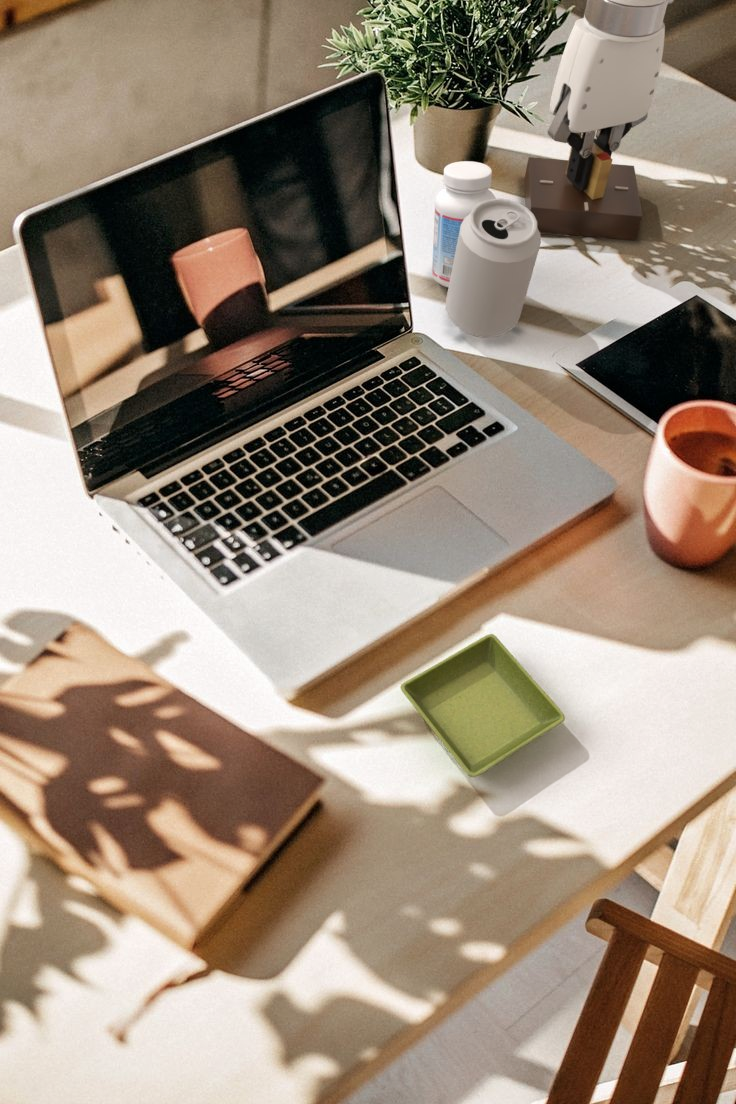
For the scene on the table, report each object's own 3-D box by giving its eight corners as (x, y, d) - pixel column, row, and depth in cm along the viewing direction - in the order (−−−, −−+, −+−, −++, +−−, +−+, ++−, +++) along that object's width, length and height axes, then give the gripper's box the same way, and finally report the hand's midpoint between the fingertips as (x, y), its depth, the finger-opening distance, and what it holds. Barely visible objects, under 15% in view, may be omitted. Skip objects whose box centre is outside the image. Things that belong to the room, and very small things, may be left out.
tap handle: (565, 173, 115) (574, 133, 111) (575, 171, 116) (584, 131, 112) (592, 200, 112) (602, 160, 108) (603, 197, 113) (613, 157, 109)
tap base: (627, 189, 119) (634, 164, 117) (635, 240, 113) (642, 215, 111) (524, 180, 119) (528, 155, 117) (526, 231, 113) (531, 205, 111)
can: (428, 309, 103) (445, 212, 93) (482, 278, 106) (504, 180, 96) (480, 354, 100) (503, 259, 90) (533, 321, 103) (562, 225, 93)
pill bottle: (502, 280, 106) (513, 171, 99) (458, 297, 103) (466, 187, 96) (462, 259, 110) (470, 153, 102) (419, 275, 107) (423, 167, 99)
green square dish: (562, 732, 75) (568, 718, 73) (468, 792, 71) (471, 779, 70) (488, 646, 79) (492, 631, 77) (395, 700, 76) (397, 685, 74)
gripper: (668, -19, 104) (623, 150, 118) (535, 4, 99) (506, 178, 113) (714, 13, 99) (662, 185, 114) (578, 40, 95) (542, 215, 109)
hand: (584, 181), depth 113 cm, fingers closed
